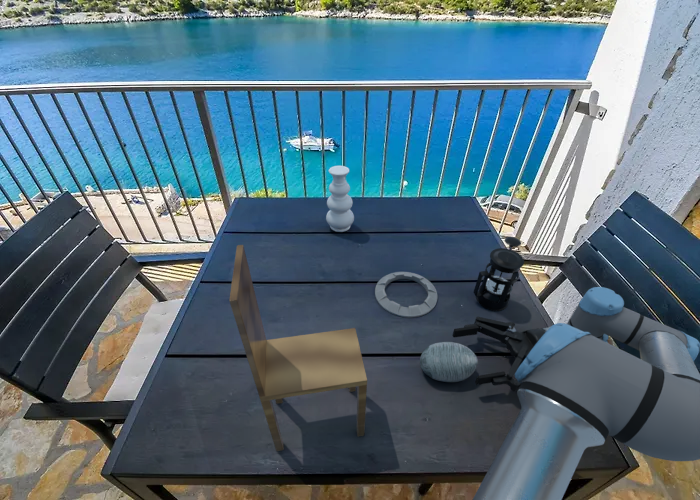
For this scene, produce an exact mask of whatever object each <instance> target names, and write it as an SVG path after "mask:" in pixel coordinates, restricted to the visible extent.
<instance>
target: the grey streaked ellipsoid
mask: <svg viewBox="0 0 700 500" xmlns="http://www.w3.org/2000/svg"><path fill="white" fill-rule="evenodd" d="M419 364H420V368H421V370H422V371H423V373H424V374H425V375H426V376H427V377H429V378H430V379H433V380H435V381H439V382H445V383H458V382H461V381H465V380H467V379H468V378H470V377H471V376H472V375H473V374H474V372H475V371H476V370H477V367H478V364H479V360H478V357H477V354H475V353H474V351H473V350H471V348H469V347H467V346H466V345H464V344H461V343H459V342H453V341H440V342H436V343H432V344H430V345H428V346H427V347H426V348H425V349H423V351H422V353H421V355H420V357H419Z"/></svg>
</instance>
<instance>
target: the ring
mask: <svg viewBox="0 0 700 500" xmlns="http://www.w3.org/2000/svg"><path fill="white" fill-rule="evenodd" d="M397 280H410V281H414V282H415V283H417V284H419V285H421V286H422V287H423V288H424V290H425V291H426V294H427V297H426V298H425V300H424V301H423V303H421V304H415V305H408V307H407V306H403V305H401V304H400V303H398V302H396V301H394V300H390V299H389V298H388V295H387V293H386V288H387V286H388V285H389V284H390V283H392V282H395V281H397ZM374 296H375V299H376V302H377V303H378V304H379V306H380V307H381V308H382V309H383V310H385V311H386V312H388V313H390V314H392V315H394V316H397V317H402V318H409V319H410V318H418V317H422V316H425V315H427V314H429V313H430V312H431V311H433V309H435V307H436V305H437V302H438V291H437V289H436V287H435V286H434V284H433V283H432V282H431V281H430V280H428V278H425V277H424V276H422V275H420V274H418V273H414V272H410V271H395V272H391V273H389V274H386V275H384V276H383V277H381V278H380V279H379V280H378V281H377V283H376V285H375V289H374Z"/></svg>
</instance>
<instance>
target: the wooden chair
mask: <svg viewBox="0 0 700 500" xmlns="http://www.w3.org/2000/svg"><path fill="white" fill-rule="evenodd" d="M247 258H248V257H247V255H246V250H245V246H244V244H238V245H236V250H235V256H234V264H233V270H232V278H231V284H230V285H231V286H230V292H229V300H228V302H229V305H230V308H231V311H232V314H233V317H234V320H235V323H236V327H237V330H238V334H239V336H240V340H241V343H242V346H243V349H244V353H245V356H246V358H247V363H248V365H249V368H250V372H251V375H252V378H253V381H254V384H255V387H256V391H257V393H258V397H259V400H260V403H261V406H262V410H263V414H264V416H265V419H266V423H267V425H268V426H267V427H268V429H269V432H270V435H271V438H272V442H273V445H274V448H275V451H276V452H279V451H284V440H283V437H282V433H281V429H280V425H279V421H278V418H277V415H276V411H275V408H274V407H275V406H274V404H273V400H274V401H275V404H276V405H277V404H283V401H284V400H283V399H286V398H292V397H299V396H304V395H312V394H317V393H323V392H330V391H335V390H343V389H348V392H349V393H353V392H356V429H355V430H356V436H357V437H363V436H365V429H366V428H365V427H366V411H367V409H366V408H367V394H368V393H367V392H368V391H367V390H368V377H367V373H366V369H365V363H364V360H363V355H362V352H361V348H360V342H359V338H358V334H357V330H356V327H350V328H345V329H337V330H329V331H323V332H314V333H308V334H300V335H293V336H286V337H278V338H270V339H267V337H266V333H265V328H264V325H263V320H262V316H261V312H260V308H259V304H258V299H257V296H256V295H257V294H256V291H255V287H254V284H253V280H252V274H251V270H250V267H249V262H248V259H247Z"/></svg>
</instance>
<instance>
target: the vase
mask: <svg viewBox="0 0 700 500" xmlns="http://www.w3.org/2000/svg"><path fill="white" fill-rule="evenodd" d="M328 172H329V173H328V174H330V175H331V176H332V181H331V182H330V184H329V186H328V191H329V192H330V194H331V195H330V196H328V198H327V200H326V207H327V208H328V209H329V210H328V211H327V213H326V216H325V221H326V223H327V224H328V225H329V228H330V229H331V230H332V231H333V232H336V233H343V232H346V231H348V230H350V228H351V226H352V225H353V223H354V221H355V214H354V213H353V211H352V210H351V209H352V207H353V203H354V202H353V201H354V200H353V199H352V197H351V196H350V195H349V193H350V191H351V186H350V184H349V182H348V181H347V180H346V177H347V175H348V174H349V173H350V168H349V167H347V166H345V165H334V166H331V167H329V169H328Z"/></svg>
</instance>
